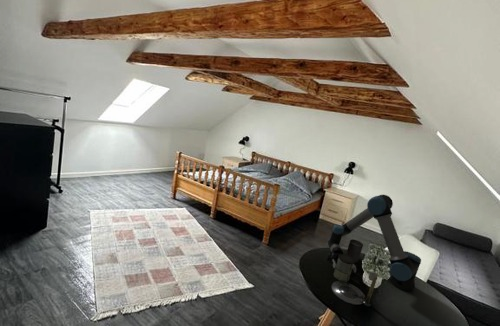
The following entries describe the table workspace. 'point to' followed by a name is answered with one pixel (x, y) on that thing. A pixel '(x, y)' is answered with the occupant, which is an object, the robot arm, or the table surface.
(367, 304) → the gauge stand
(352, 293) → the turntable
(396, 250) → the robot arm
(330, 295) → the table surface
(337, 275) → the coffee can
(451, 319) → the table surface
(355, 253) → the pillar candle
